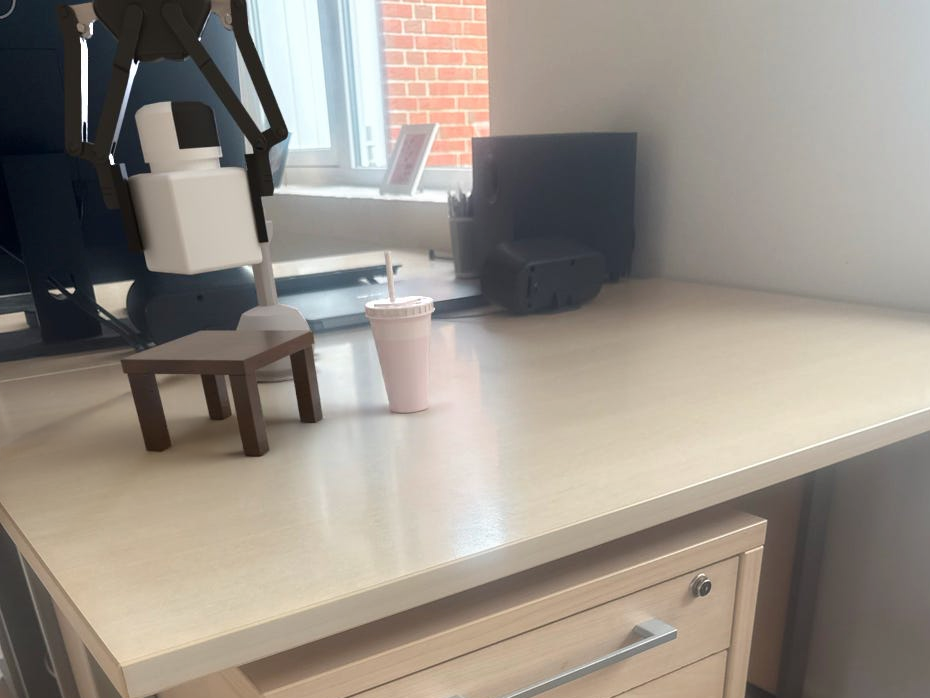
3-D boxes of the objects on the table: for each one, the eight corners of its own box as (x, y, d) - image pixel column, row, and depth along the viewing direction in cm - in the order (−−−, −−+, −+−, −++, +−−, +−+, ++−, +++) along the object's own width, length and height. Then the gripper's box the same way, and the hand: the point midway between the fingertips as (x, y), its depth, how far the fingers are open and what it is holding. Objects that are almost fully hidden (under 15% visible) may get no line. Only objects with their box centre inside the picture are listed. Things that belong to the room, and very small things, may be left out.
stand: (142, 451, 80) (119, 359, 76) (218, 413, 90) (200, 330, 86) (261, 457, 76) (243, 360, 73) (326, 417, 86) (313, 330, 82)
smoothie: (368, 405, 89) (348, 251, 82) (429, 395, 91) (415, 244, 84) (388, 420, 84) (369, 257, 77) (452, 409, 86) (439, 249, 79)
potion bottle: (281, 363, 109) (253, 197, 100) (334, 369, 104) (310, 195, 95) (225, 380, 103) (190, 205, 94) (278, 387, 98) (247, 203, 89)
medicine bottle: (221, 259, 81) (191, 103, 75) (264, 263, 76) (236, 96, 70) (146, 271, 76) (108, 107, 71) (188, 275, 72) (151, 100, 66)
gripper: (-48, -99, 60) (52, 264, 71) (292, -112, 63) (338, 238, 74) (-17, -75, 66) (70, 254, 77) (290, -87, 69) (332, 231, 80)
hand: (201, 246), depth 75 cm, fingers closed on medicine bottle, 10 cm apart
